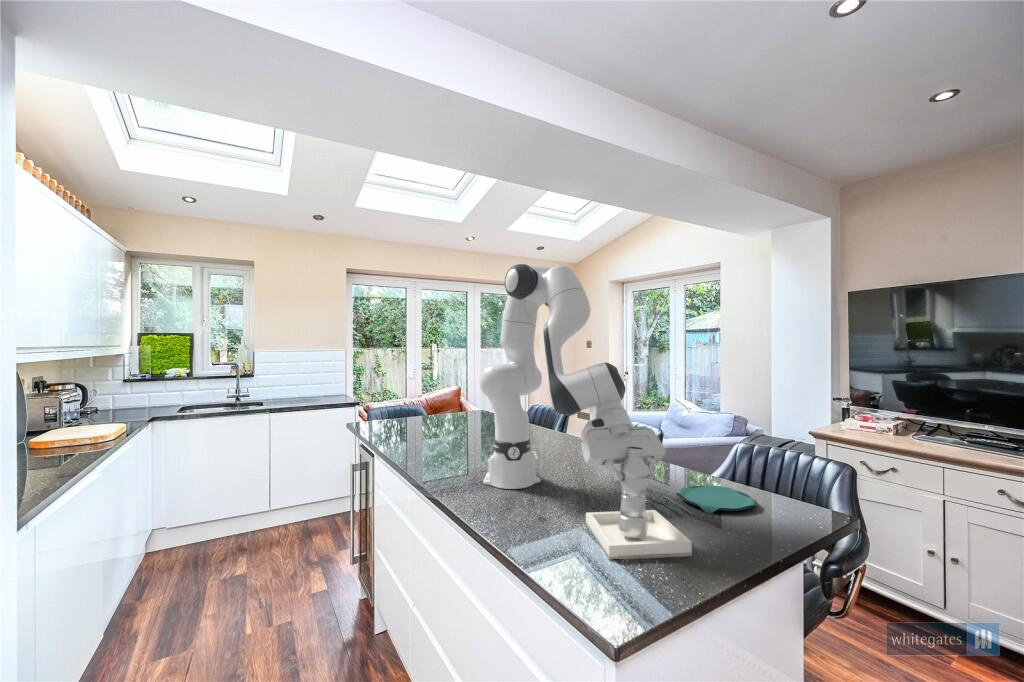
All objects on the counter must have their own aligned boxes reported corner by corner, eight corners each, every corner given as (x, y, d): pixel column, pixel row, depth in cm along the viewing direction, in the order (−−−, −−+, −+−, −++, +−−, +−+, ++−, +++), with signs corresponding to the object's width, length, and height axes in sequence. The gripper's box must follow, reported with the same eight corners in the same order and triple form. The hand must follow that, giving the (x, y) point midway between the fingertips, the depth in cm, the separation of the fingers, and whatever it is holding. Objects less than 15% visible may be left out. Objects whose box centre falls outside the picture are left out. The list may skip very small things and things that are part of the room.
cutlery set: (772, 513, 115) (772, 504, 115) (670, 523, 109) (670, 514, 109) (723, 489, 135) (722, 482, 135) (634, 497, 129) (634, 489, 129)
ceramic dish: (585, 524, 107) (585, 512, 107) (655, 521, 109) (654, 509, 109) (609, 560, 89) (609, 545, 89) (691, 556, 91) (691, 541, 91)
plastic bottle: (646, 544, 94) (649, 451, 95) (614, 538, 96) (618, 447, 98) (649, 535, 99) (651, 447, 101) (619, 529, 102) (622, 444, 104)
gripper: (646, 433, 113) (668, 481, 103) (574, 437, 108) (590, 488, 98) (656, 418, 109) (680, 468, 99) (581, 422, 104) (599, 474, 94)
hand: (635, 478), depth 99 cm, fingers open, 7 cm apart
